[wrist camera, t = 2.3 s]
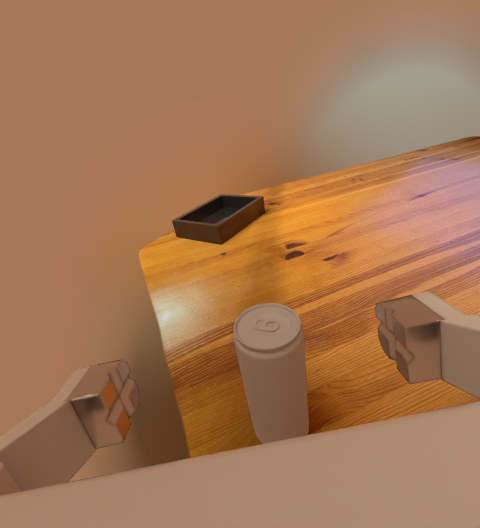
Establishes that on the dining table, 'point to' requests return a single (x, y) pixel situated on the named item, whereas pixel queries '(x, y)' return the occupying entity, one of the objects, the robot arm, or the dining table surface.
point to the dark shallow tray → (219, 218)
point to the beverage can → (273, 370)
